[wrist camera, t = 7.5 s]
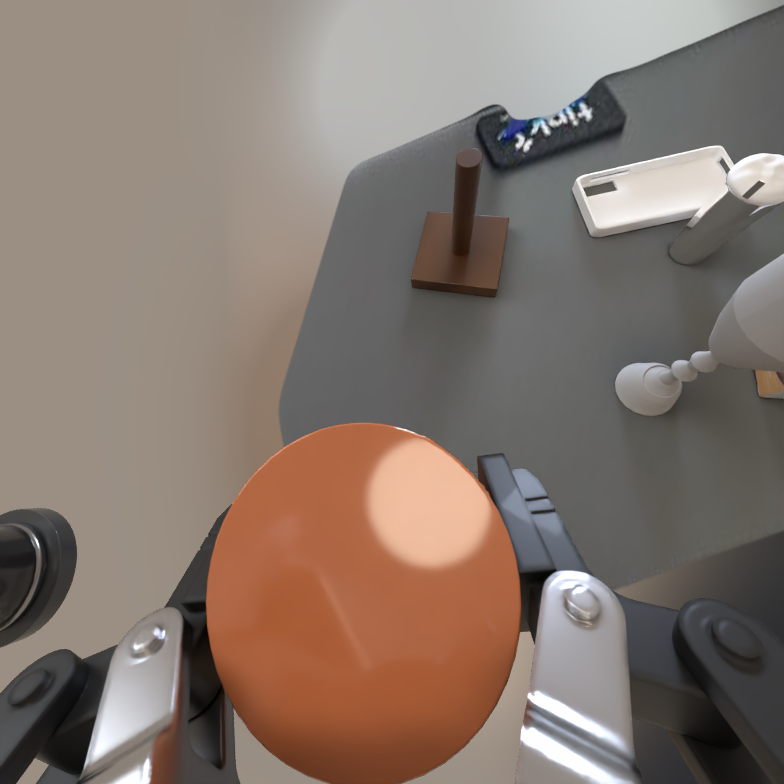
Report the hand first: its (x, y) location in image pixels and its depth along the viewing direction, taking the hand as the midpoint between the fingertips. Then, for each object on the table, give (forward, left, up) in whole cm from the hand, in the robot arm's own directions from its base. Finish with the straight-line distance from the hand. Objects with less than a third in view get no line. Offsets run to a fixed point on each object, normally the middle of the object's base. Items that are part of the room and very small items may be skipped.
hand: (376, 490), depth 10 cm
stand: (0, +25, -21) cm, 33 cm away
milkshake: (+22, +28, -21) cm, 41 cm away
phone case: (+19, +35, -21) cm, 45 cm away
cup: (+1, -2, -8) cm, 9 cm away
